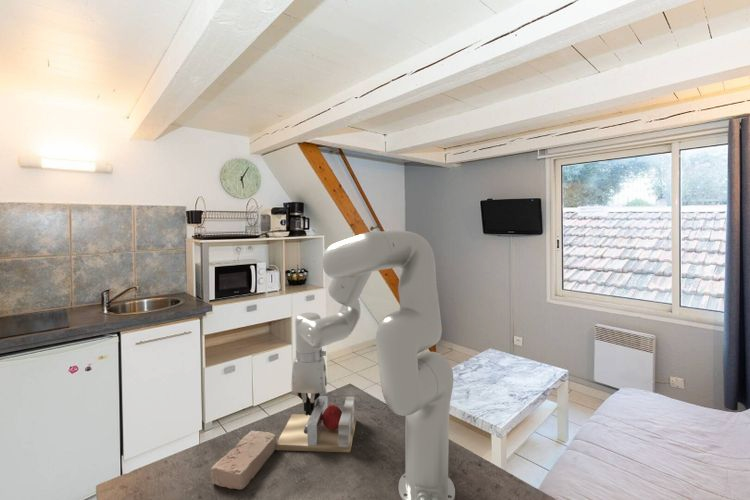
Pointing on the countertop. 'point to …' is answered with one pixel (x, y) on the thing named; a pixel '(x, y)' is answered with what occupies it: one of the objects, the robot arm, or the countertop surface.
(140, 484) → the countertop surface
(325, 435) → the vise base
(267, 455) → the brick
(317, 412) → the vise jaw
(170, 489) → the countertop surface
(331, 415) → the onion
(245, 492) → the countertop surface
